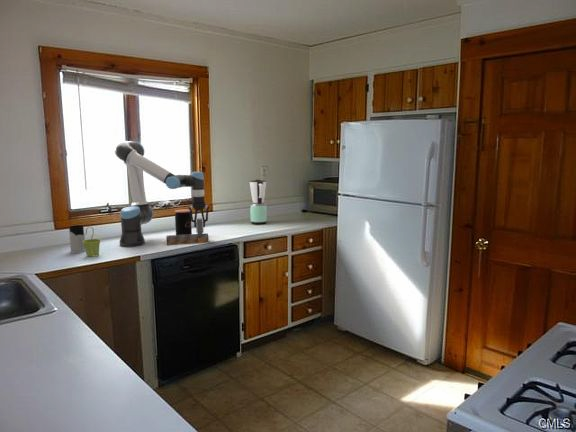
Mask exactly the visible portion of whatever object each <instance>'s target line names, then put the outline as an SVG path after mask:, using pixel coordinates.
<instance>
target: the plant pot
mask: <svg viewBox="0 0 576 432" xmlns="http://www.w3.org/2000/svg"><path fill="white" fill-rule="evenodd" d="M101 241H102V239H101V238H92V239H91V238H90V239H85V240H84V241H83V243H84V245H85V249H86V252H85V253H86V256H87V257H89V258H90V257H97V256H99V254H100V246H101V245H100V243H101Z"/></svg>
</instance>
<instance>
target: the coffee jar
mask: <svg viewBox="0 0 576 432" xmlns="http://www.w3.org/2000/svg"><path fill="white" fill-rule="evenodd" d="M174 213H175V214H174V221H175V222H174V224H175V226H174V227H175V235H187V234H193V231H192V222H191V215H190V210H189V209H187V208H185V209H183V208H182V209H176V210H174Z"/></svg>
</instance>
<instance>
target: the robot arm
mask: <svg viewBox="0 0 576 432" xmlns="http://www.w3.org/2000/svg"><path fill="white" fill-rule="evenodd" d="M114 154H115V156H116V157H117V158H118V159H119V160H121V161H123V164H124V165H126V167H127V169H126V170H127V174H128V175H127V176H128V181H129V187H130V194H131V200H132V202H131V204H130V206H126V207H123V208H122V209H121V210H120V215H119V216H120V225H121V235H120V239H119V246H120V247H124V248H125V247H130V248H131V247H139V246H143V245H145V243H146V240H145V237H144V235H143V232H142V225H146V224H148V223H149V222H151V221H152V220H153V218H154V210H153V208H152V207H151V206H150V203H149V201H147V198H146V192H145V191H146V190H145V183H144V177H143V172H145V173H146V174H148V175H150V176H151V177H153V178H155V180H156V179H157V180H159V181H160V182H162V183H163V184H165V186H166V188H168V189H170V190H176V189H180V188H185V187H186V188H188V187H190V188H191V191H192V192H191V193H192V204H191V205H190V206H188V210H190V215H191V223H193V226H194V228H196V229H195V231H196V233H195V234H198V228H197V219H198V211H200V212H201V213H200V214H201V217H202V231H203V234H205V233H204V229H205V227H206V222H208V221H209V210H210V206H209V205H208V204H206V201H205V198H206V197H205V178H204V176H205V175H204V172H202V171H192V172H191V174H173V173H172V172H170V171H169V170H167V169H165V168H164V167H162V166H160V165H158V164H157V163H155V162H153V161H152V160H150V159H148V158H146V157H145V156H144V155H145V148H144V146H143V145H142V144H141V143H140V142H138V141H134V140H129V141H128V140H122V141H119V142H118V143H116V145H115V147H114ZM193 209H194V215H193ZM204 209H205V214H204ZM193 216H194V217H193Z"/></svg>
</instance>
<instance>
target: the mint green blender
mask: <svg viewBox="0 0 576 432" xmlns="http://www.w3.org/2000/svg"><path fill="white" fill-rule="evenodd" d="M266 187H267V180H264V179H263V180H262V179H254V180H249V188H250V194H251V200H252V202H251V203H250V208H249V210H250V211H249V213H250V214H249V215H250V217H249V218H250V223H251V224H253V225H255V226H256V225H257V224H258V225H260V224H263V225H267V221H268V219H267V218H268V217H267V215H268V214H267V212H268V211H267V203H266V202H265V197H266V196H265V195H266Z"/></svg>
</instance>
